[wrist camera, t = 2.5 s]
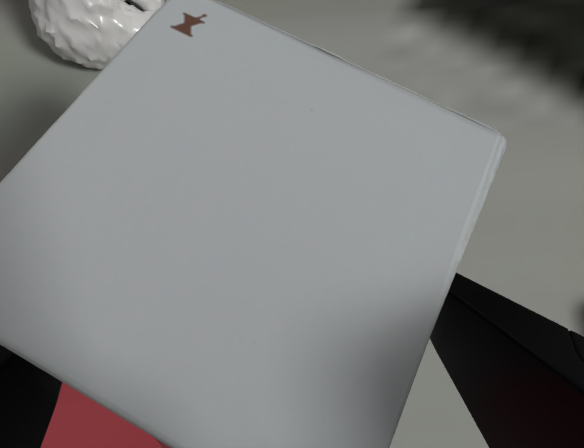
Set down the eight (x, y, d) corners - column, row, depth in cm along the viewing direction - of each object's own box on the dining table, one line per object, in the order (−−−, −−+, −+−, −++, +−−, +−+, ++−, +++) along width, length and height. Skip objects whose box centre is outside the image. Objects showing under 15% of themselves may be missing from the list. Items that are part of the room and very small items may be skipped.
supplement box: (153, 325, 17) (-127, 281, 5) (235, 200, 19) (181, -38, 7) (289, 406, 16) (353, 585, 4) (357, 266, 18) (522, 123, 6)
